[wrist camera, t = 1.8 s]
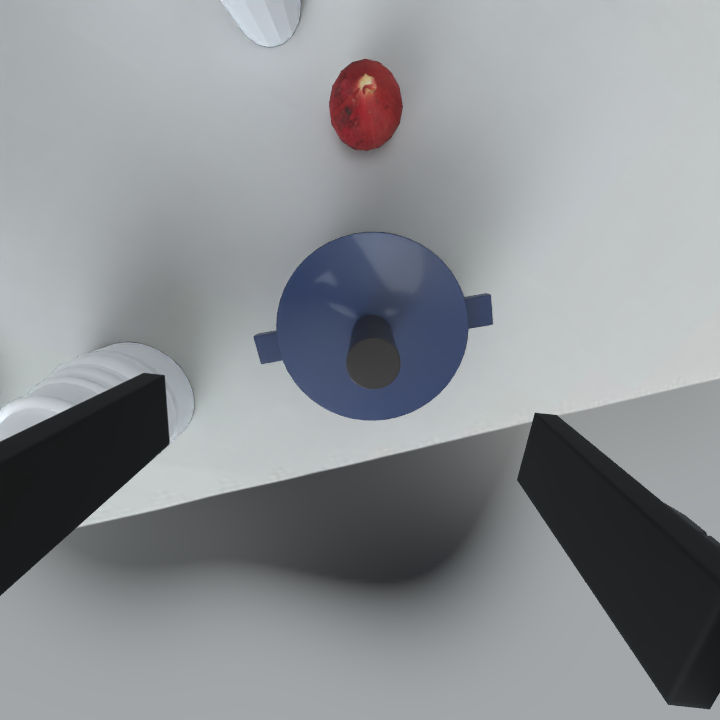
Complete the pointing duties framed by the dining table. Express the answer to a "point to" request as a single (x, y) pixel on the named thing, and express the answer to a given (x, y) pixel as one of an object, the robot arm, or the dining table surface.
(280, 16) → the white tapered cylinder
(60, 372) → the honey pot
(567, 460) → the robot arm
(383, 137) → the onion
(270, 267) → the dining table surface
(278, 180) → the dining table surface
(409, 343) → the lid
